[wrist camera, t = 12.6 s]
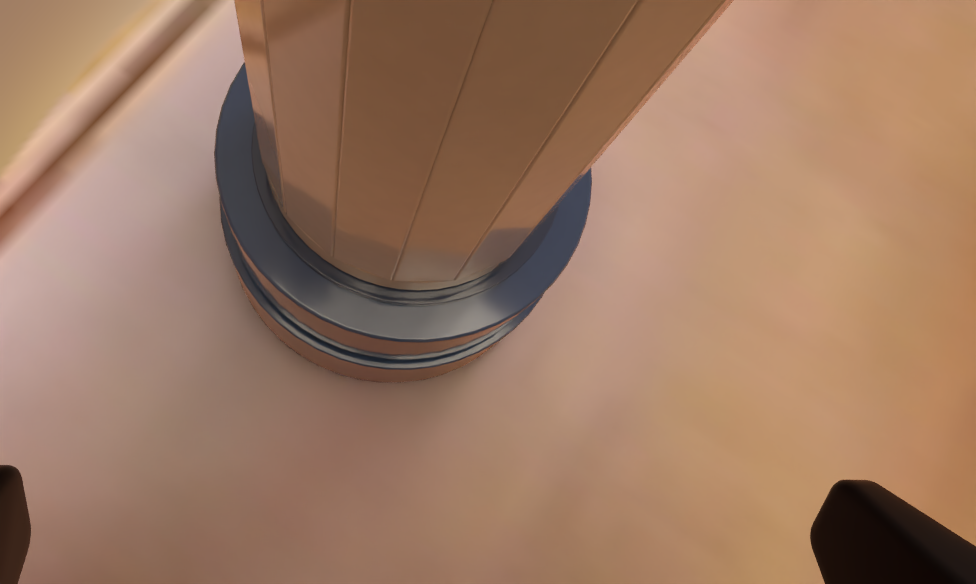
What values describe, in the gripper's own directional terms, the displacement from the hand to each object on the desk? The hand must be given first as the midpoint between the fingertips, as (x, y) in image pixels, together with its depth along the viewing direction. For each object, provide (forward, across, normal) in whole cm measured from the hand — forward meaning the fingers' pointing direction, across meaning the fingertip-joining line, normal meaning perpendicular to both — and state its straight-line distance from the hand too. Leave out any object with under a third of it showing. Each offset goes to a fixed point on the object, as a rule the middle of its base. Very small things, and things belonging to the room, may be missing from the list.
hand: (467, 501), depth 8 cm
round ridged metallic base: (+14, 0, +4) cm, 15 cm away
